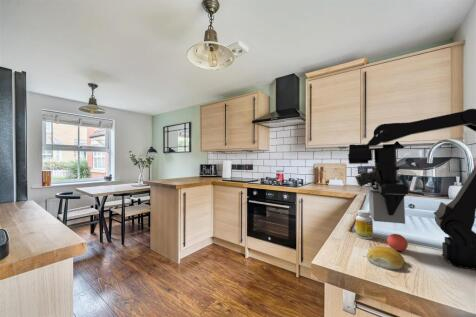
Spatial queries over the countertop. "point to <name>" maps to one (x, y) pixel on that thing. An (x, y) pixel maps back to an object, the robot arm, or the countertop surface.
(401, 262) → the bread roll
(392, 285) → the countertop surface
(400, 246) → the ball
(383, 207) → the gray block
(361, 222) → the supplement bottle
